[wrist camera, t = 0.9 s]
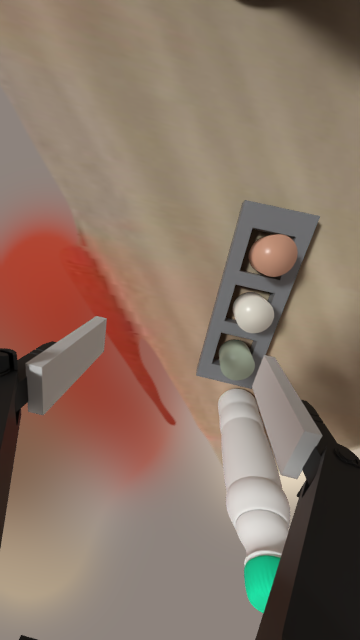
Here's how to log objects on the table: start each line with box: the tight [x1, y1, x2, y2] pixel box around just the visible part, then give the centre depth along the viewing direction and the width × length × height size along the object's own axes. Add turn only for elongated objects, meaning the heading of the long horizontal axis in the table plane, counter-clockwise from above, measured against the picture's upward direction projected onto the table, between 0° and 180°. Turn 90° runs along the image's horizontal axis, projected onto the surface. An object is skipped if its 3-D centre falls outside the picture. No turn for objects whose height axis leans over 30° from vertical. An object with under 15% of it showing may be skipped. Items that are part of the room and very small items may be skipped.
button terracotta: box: [249, 234, 298, 277], centre depth 28 cm, size 5×5×4 cm
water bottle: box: [218, 389, 290, 613], centre depth 30 cm, size 7×7×25 cm
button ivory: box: [233, 292, 274, 333], centre depth 31 cm, size 5×5×4 cm
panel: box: [196, 200, 320, 389], centre depth 34 cm, size 28×10×2 cm, turn 168°
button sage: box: [219, 339, 255, 380], centre depth 34 cm, size 5×5×4 cm
